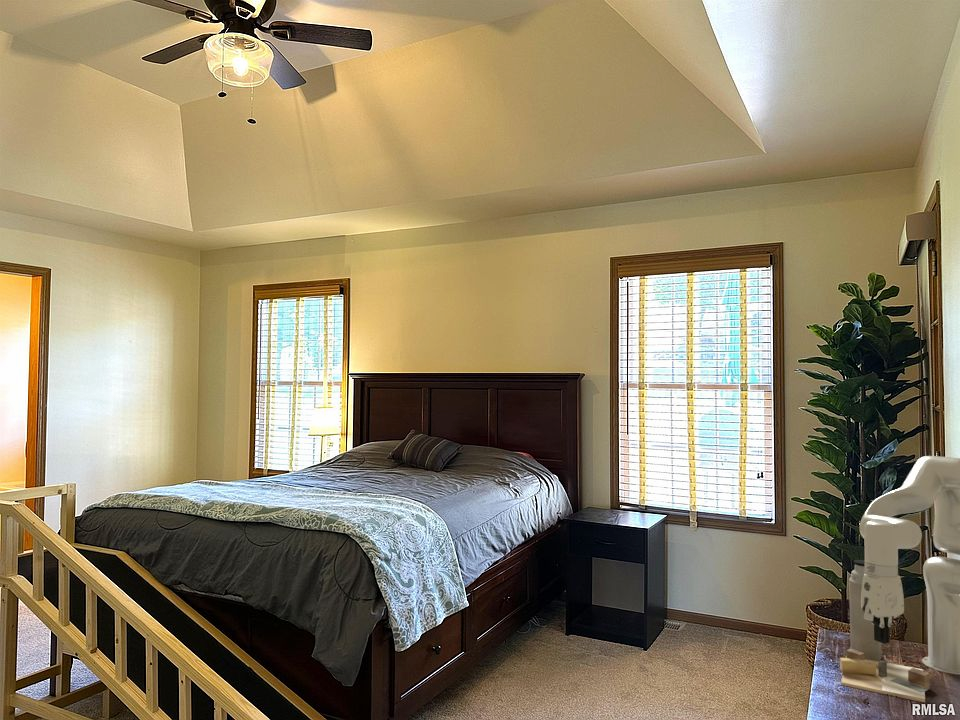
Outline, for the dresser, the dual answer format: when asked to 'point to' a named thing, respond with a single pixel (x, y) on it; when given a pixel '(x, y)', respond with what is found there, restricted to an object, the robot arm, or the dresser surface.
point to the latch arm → (857, 666)
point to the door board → (889, 679)
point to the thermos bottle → (861, 618)
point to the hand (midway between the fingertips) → (881, 641)
